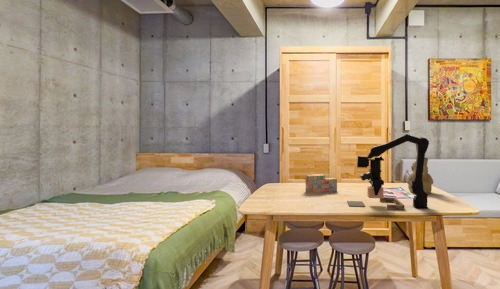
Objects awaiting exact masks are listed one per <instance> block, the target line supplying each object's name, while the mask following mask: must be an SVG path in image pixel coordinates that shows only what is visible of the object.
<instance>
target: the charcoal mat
mask: <svg viewBox="0 0 500 289" xmlns="http://www.w3.org/2000/svg"><path fill="white" fill-rule="evenodd" d="M346 203H347V205H348V207H356V208H365V207H366V204H365V203H364V202H363V201H361V200H359V201H357V200H347V201H346Z"/></svg>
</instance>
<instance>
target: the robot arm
mask: <svg viewBox="0 0 500 289" xmlns="http://www.w3.org/2000/svg"><path fill="white" fill-rule="evenodd" d="M429 141H430V140H428V138H427V137H426V138H425V137H423V136H419V137H416V136H413V135H410V134H408V133H405V134H403V135H401V136H398V137H397V138H394V139H392V140H390V141H388V142H386V143H382V144H379V145H375V146H372V147H371V148H370V151H369V154H367V156H362V155H359V156H357V161H356V168H358V169H359V168H361V169H363V168H364V169H367V168H368V167H369V170H368V172H364V173H360V175H359V176H360V179H361V181H362V182H363V181H366V180H367V181H368V183H370V186H373V187H374V192H375V195H377V194H378V192H379V190H380V188H381V187H383V186H384V185H385V181H384V180H383V179H382V176H381V172H382V169H381V168H382V167H381V164H382V163H381V162H382V161H383V162H384V161H385V159H384V158H383V157H382V155H383V154H385V153H386V152H387V151H388V150H390V149H393V148H396V147H397V146H399V145H402V144H404V143H406V142H409V143H411V144H412V143H413V144H415V149H416V159H415V161H416V167H415V176H414V179H413V180H410V186H409V187H410V188H411V190H412V192H413V193H412V192H411V193H412V194H414V196H413V199H412V206H413V207H414V208H415V209H429V207H428V197H429V196H428V195H429V194H427V193H426V192H425V191H424V189H423V181H422V176H423V167H424V158H426V153H427V151H428V149H429V144H430V142H429Z"/></svg>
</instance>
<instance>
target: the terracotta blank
mask: <svg viewBox="0 0 500 289" xmlns="http://www.w3.org/2000/svg"><path fill="white" fill-rule="evenodd" d="M367 197H368V199H380V198H383V197H384V187H383V186H381V188H380V190H379V192H378V194H377V195H375V192H374V187H373V186H372V185H370V186H369V185H367Z"/></svg>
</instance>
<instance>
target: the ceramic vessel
mask: <svg viewBox="0 0 500 289" xmlns="http://www.w3.org/2000/svg"><path fill="white" fill-rule="evenodd" d="M428 162H429V158H428V157H425V158H424V167H423V176H422V181H423V189H424V191H425V192H426V193H427V194H428V195H430V194H431V193H432V185H433V184H434V179H433V177H432V175H431V174H430V173H429V168H428ZM415 167H416V160H415V161H413V162H412V164H411V167H410V169H411V171H412V172H411V173H410V174H409V175H408V176H407V179H406V180H407V181H406V183H407V184H408V186H407V188H408V190H409V191H410V192H411V194H414V193H413V192H412V190H411V188H410V187H409V186H410V180H413V179H414V176H415Z"/></svg>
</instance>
